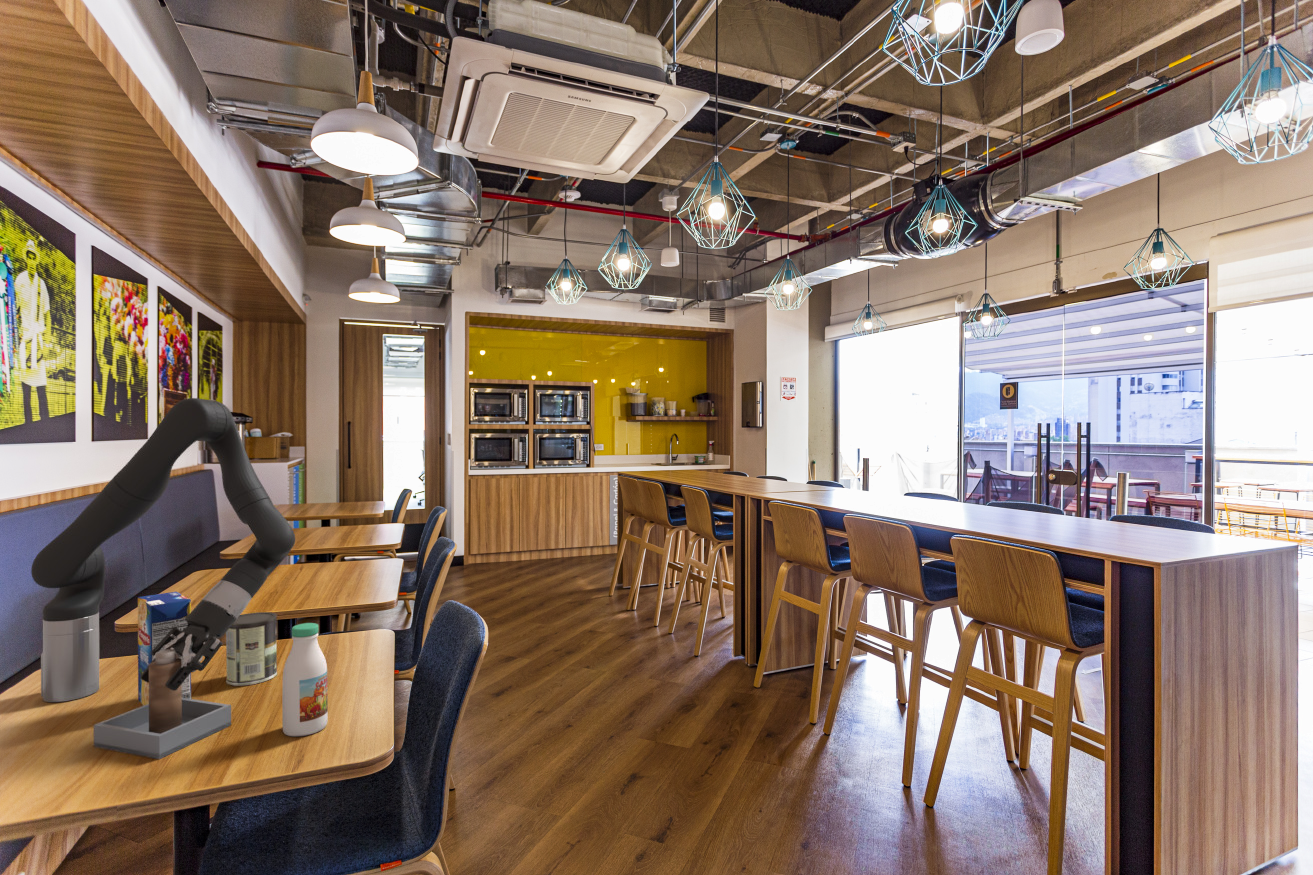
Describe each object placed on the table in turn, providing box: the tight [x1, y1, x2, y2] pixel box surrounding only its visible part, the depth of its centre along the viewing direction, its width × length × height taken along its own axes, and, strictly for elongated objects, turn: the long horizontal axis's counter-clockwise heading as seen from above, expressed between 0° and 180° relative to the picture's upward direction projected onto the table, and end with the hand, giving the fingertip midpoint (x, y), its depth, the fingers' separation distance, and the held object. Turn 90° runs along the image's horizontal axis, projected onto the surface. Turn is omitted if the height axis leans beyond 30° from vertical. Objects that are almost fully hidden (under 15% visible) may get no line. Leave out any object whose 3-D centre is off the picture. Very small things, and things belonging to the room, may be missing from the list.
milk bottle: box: [281, 622, 329, 737], centre depth 128 cm, size 8×8×20 cm
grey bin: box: [93, 698, 232, 760], centre depth 125 cm, size 16×14×4 cm
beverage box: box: [137, 591, 192, 706], centre depth 141 cm, size 7×11×22 cm, turn 49°
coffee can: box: [225, 611, 278, 687], centre depth 155 cm, size 10×10×14 cm
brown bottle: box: [149, 649, 182, 734], centre depth 125 cm, size 5×5×15 cm
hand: (156, 684), depth 124 cm, fingers open, 8 cm apart
